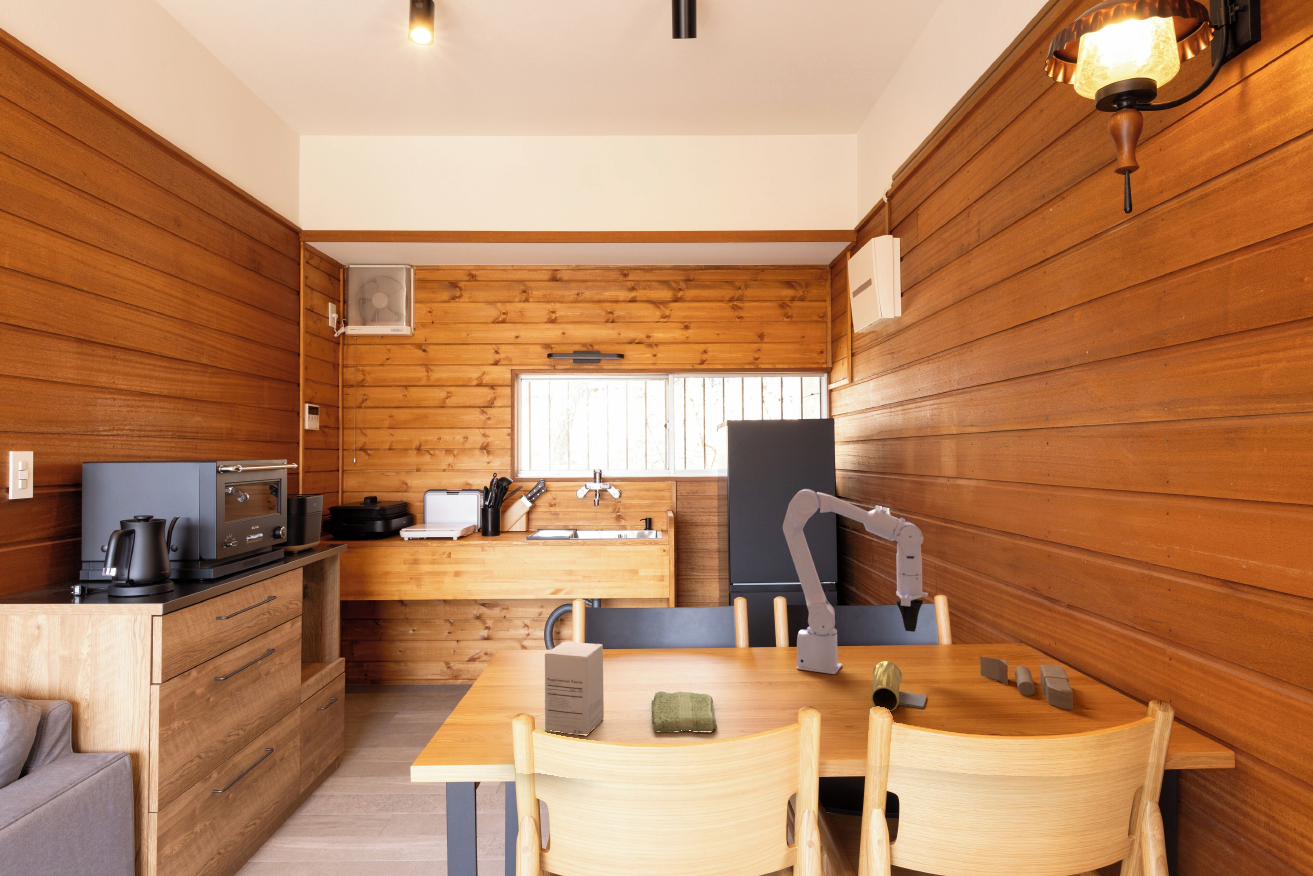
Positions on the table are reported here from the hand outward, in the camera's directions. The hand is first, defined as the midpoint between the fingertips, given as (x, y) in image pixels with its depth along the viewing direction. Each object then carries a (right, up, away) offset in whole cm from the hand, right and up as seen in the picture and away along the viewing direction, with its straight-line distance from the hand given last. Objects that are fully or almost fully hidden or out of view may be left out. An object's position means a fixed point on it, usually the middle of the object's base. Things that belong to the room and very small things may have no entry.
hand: (910, 630), depth 157 cm
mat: (-9, -10, -16) cm, 21 cm away
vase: (-9, -7, -11) cm, 16 cm away
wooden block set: (+21, -11, -12) cm, 26 cm away
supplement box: (-77, -10, -29) cm, 83 cm away
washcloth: (-56, -11, -25) cm, 62 cm away
